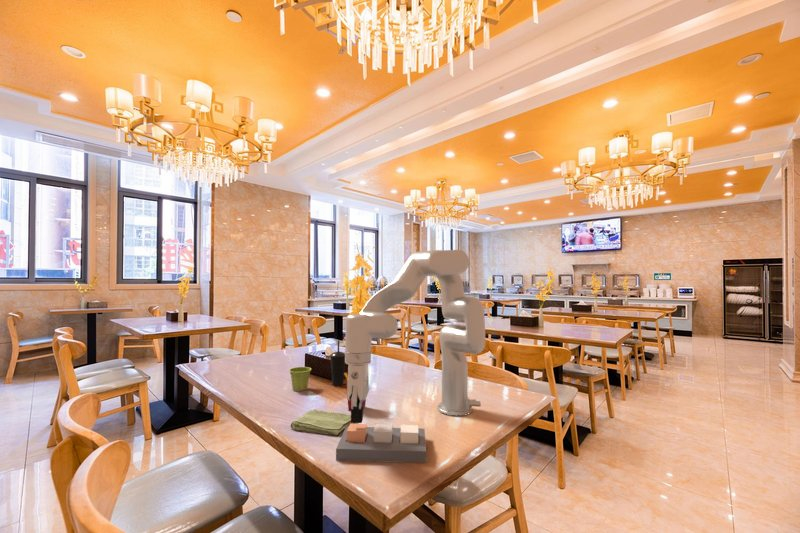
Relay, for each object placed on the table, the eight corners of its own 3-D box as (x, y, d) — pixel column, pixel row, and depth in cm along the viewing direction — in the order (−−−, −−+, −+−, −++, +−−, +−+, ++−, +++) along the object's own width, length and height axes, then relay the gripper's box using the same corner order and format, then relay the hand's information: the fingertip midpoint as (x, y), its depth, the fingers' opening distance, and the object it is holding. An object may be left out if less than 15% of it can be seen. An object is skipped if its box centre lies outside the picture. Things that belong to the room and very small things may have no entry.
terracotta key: (366, 435, 101) (367, 423, 101) (364, 443, 96) (364, 431, 96) (350, 434, 101) (350, 423, 102) (346, 442, 96) (346, 430, 97)
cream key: (418, 436, 101) (418, 425, 101) (418, 444, 96) (418, 432, 96) (400, 435, 101) (401, 424, 101) (400, 444, 96) (400, 432, 96)
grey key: (392, 435, 101) (392, 424, 101) (391, 443, 96) (391, 432, 96) (375, 435, 101) (375, 424, 101) (373, 443, 96) (373, 431, 96)
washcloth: (338, 438, 105) (339, 428, 105) (288, 431, 110) (288, 421, 110) (355, 422, 118) (355, 412, 118) (309, 416, 123) (309, 407, 123)
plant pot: (294, 385, 156) (294, 366, 157) (314, 386, 155) (314, 367, 155) (284, 392, 147) (285, 371, 147) (305, 393, 146) (306, 372, 146)
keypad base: (424, 438, 105) (424, 428, 105) (426, 462, 91) (426, 451, 91) (346, 436, 106) (346, 426, 106) (335, 460, 92) (336, 448, 92)
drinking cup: (338, 388, 153) (339, 342, 154) (325, 385, 157) (326, 340, 158) (349, 383, 160) (350, 340, 160) (337, 381, 164) (338, 338, 164)
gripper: (367, 363, 92) (366, 433, 91) (373, 352, 107) (372, 412, 106) (339, 363, 92) (338, 432, 92) (349, 351, 107) (348, 411, 107)
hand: (356, 421), depth 99 cm, fingers closed
